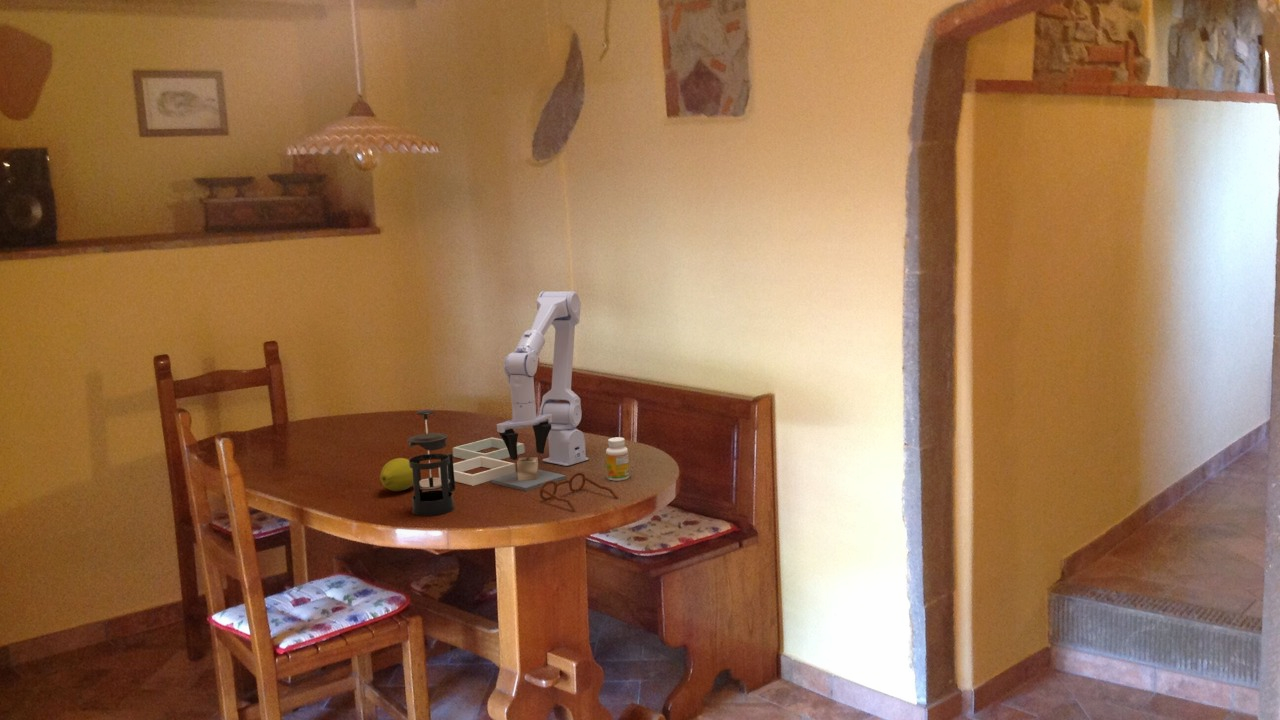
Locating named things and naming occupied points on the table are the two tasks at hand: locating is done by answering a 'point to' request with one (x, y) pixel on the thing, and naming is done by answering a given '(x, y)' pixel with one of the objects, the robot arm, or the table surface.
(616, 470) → the supplement bottle
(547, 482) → the glasses
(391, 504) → the table surface
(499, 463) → the bin
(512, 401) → the robot arm
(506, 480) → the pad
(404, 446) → the table surface
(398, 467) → the lemon
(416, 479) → the french press
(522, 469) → the letter cube
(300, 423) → the table surface
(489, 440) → the bin
